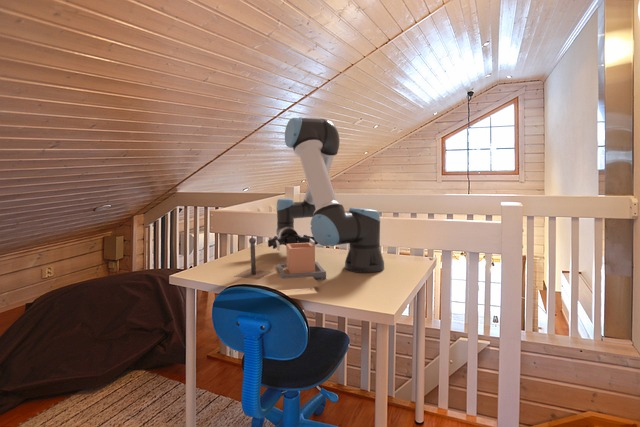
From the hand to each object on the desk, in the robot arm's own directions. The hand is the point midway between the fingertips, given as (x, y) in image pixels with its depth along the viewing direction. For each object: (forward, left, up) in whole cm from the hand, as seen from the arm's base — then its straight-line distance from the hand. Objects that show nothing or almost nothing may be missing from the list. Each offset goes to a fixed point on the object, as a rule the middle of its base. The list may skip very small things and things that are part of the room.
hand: (296, 246), depth 152 cm
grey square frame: (-5, +7, -9) cm, 12 cm away
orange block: (-5, +7, -8) cm, 12 cm away
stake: (+9, +17, -9) cm, 21 cm away
